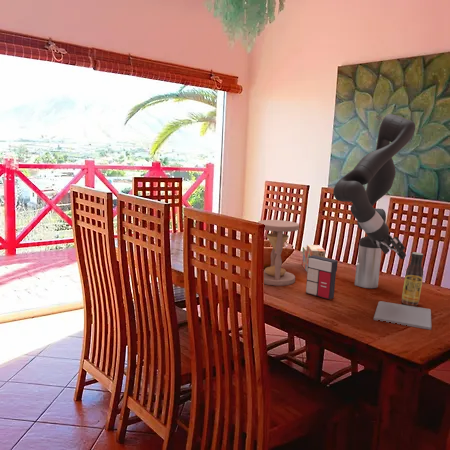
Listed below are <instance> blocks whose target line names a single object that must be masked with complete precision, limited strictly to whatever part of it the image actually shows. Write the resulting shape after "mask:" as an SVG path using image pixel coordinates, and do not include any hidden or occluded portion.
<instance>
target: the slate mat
mask: <svg viewBox="0 0 450 450" xmlns="http://www.w3.org/2000/svg"><path fill="white" fill-rule="evenodd" d="M378 320H380V321H379V322H383V321H386V322H385V323H389V322H391V323H390V324H395V323H397V324H396V325H400V324H401V326H406V325H407V326H406V327H413V328H416V329H417V328H418V329H424V330H430V331H432V310H431V308H425V307H418V306H409V305H405V304H400V303H394V302H389V301H387V302H386V301H383V300H382V301H381V300H379V301H378V303H377V306H376V309H375V312H374V315H373V321H378Z"/></svg>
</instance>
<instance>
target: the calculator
mask: <svg viewBox="0 0 450 450" xmlns="http://www.w3.org/2000/svg"><path fill="white" fill-rule="evenodd" d="M338 262H339V261H338V260H337V259H333V258H328V257H325V258H324V257H320V256H315V255H313V256H309V257H308V270H307V271H306V285H305V293H306V294H308V295H311V296H315V297H318V298H322V299H326V300H331V299H334V298H335V288H336V276H337V271H338Z"/></svg>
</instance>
